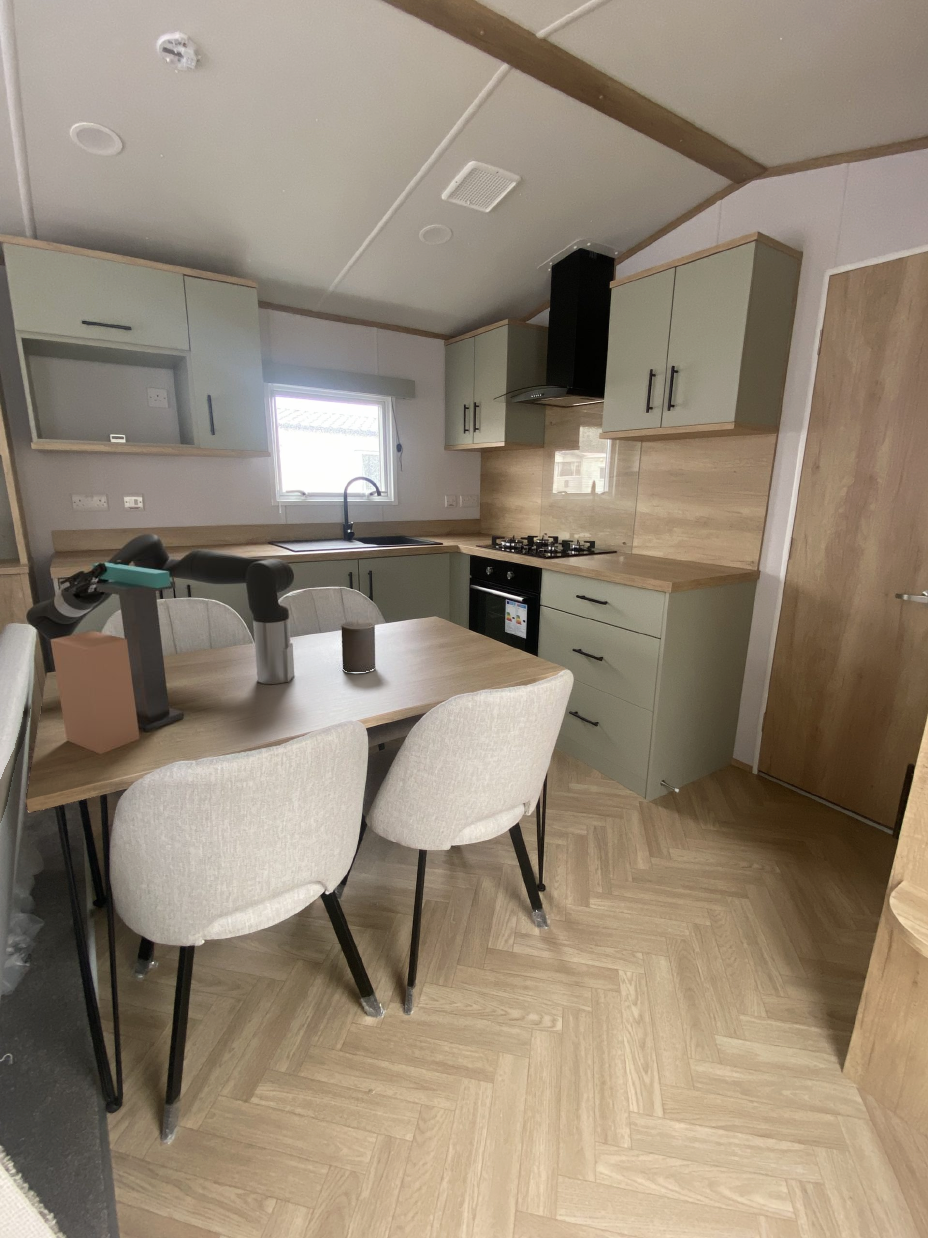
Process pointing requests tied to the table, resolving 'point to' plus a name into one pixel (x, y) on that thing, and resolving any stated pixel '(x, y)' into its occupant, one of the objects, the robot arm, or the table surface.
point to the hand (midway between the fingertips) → (112, 565)
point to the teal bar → (136, 575)
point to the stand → (144, 652)
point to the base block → (95, 690)
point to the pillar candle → (358, 646)
